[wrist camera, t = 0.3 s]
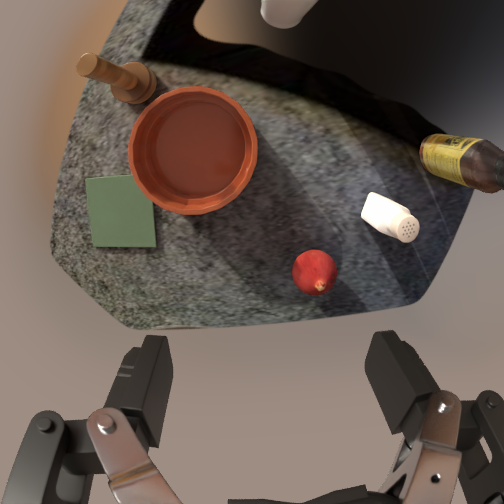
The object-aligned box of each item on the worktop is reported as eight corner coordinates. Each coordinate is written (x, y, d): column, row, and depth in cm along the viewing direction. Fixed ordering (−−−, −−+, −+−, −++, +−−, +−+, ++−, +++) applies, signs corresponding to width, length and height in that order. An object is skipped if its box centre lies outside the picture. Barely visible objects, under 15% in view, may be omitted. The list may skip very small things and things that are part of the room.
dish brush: (120, 69, 30) (65, 45, 17) (157, 64, 30) (115, 32, 17) (118, 106, 32) (60, 97, 19) (156, 101, 32) (110, 86, 19)
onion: (331, 242, 40) (351, 267, 33) (324, 279, 42) (340, 309, 35) (291, 239, 40) (302, 264, 32) (285, 277, 42) (294, 308, 34)
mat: (86, 178, 35) (85, 178, 35) (152, 173, 35) (151, 174, 35) (94, 246, 39) (93, 247, 38) (157, 246, 39) (156, 247, 39)
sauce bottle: (447, 135, 34) (549, 153, 16) (447, 174, 36) (544, 211, 18) (414, 131, 34) (520, 144, 16) (414, 173, 36) (515, 212, 18)
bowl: (143, 97, 31) (128, 92, 26) (256, 93, 32) (259, 86, 27) (146, 204, 37) (132, 215, 32) (253, 203, 37) (255, 215, 32)
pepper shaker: (390, 199, 38) (427, 219, 29) (380, 225, 39) (414, 250, 30) (368, 190, 37) (402, 207, 28) (358, 216, 39) (388, 240, 30)
